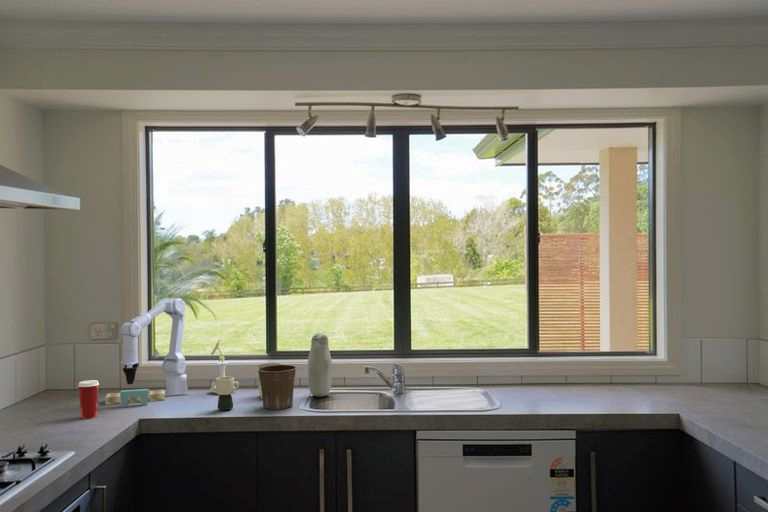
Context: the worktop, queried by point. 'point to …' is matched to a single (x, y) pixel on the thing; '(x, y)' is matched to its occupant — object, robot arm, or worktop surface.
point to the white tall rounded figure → (319, 366)
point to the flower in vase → (220, 364)
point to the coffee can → (259, 379)
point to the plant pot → (277, 385)
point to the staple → (133, 393)
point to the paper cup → (88, 398)
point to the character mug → (225, 391)
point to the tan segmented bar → (152, 396)
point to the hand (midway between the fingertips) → (130, 382)
